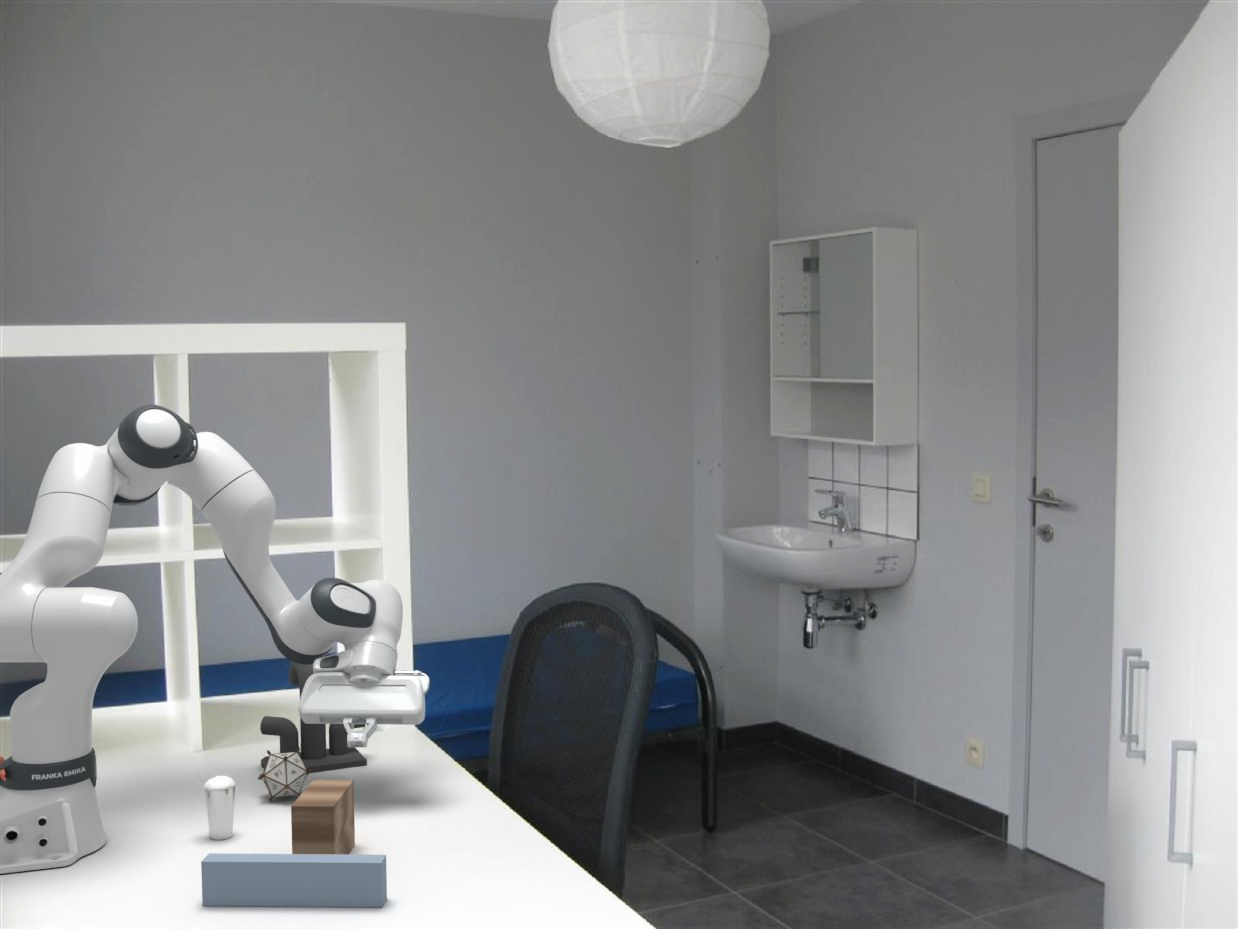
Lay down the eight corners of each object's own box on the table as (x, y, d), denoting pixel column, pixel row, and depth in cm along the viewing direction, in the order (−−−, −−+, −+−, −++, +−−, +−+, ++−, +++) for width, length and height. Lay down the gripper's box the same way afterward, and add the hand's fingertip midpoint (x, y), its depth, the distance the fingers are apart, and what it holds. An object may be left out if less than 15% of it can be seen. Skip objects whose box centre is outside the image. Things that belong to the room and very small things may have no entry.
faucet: (348, 743, 255) (346, 639, 253) (370, 765, 241) (368, 655, 239) (251, 755, 247) (248, 648, 246) (267, 779, 233) (264, 665, 232)
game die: (291, 823, 221) (293, 786, 215) (246, 802, 223) (247, 765, 216) (320, 783, 228) (322, 747, 222) (276, 763, 230) (277, 726, 223)
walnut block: (335, 876, 189) (333, 806, 188) (292, 875, 189) (291, 806, 188) (354, 845, 201) (353, 780, 200) (315, 845, 201) (313, 779, 200)
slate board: (386, 898, 180) (386, 854, 180) (382, 907, 177) (381, 863, 177) (210, 897, 181) (208, 853, 181) (202, 905, 178) (201, 861, 178)
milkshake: (199, 834, 206) (197, 770, 205) (235, 829, 207) (233, 766, 207) (201, 844, 201) (199, 778, 201) (238, 839, 203) (236, 774, 202)
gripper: (433, 681, 225) (424, 755, 216) (311, 679, 225) (297, 754, 216) (428, 661, 220) (419, 736, 211) (304, 659, 220) (289, 735, 211)
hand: (356, 745), depth 214 cm, fingers closed
